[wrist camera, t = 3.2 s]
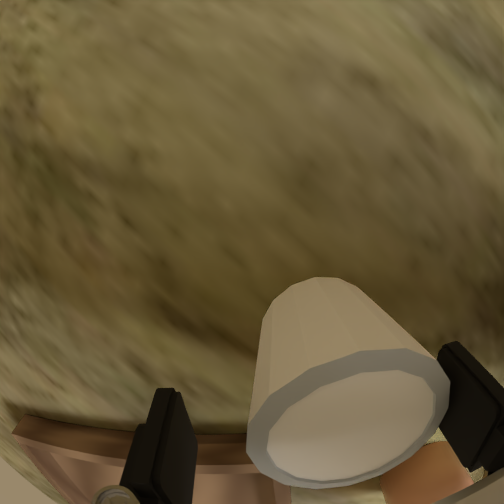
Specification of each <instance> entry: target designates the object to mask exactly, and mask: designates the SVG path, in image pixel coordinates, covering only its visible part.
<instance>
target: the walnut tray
mask: <svg viewBox="0 0 504 504" xmlns="http://www.w3.org/2000/svg"><path fill="white" fill-rule="evenodd" d="M11 434H12V435H13V437H14V438H15V439H16V441H17V442H18V444H19V445H20V446H21V448H22V449H23V450H24V452H25V453H26V454H27V455H28V457H29V458H30V459H31V461H32V462H33V463H34V464H35V466H36V467H37V468H38V469H39V470H40V472H41V473H42V474H43V475H44V476H45V478H46V479H47V480H48V481H49V482H50V483H51V484H52V485H53V487H54V488H55V489H56V490H57V491H58V492H59V493H60V494H61V495H62V496H63V497H64V498H65V499H66V500H67V501H68V502H69V504H91V501H92V498H93V496H94V494H95V493H96V492H97V491H98V490H100V489H101V488H103V487H106V486H109V485H119V483H120V480H121V476H122V473H123V470H124V466H125V463H126V460H127V457H128V453H129V450H130V447H131V444H132V441H133V437H134V434H135V432H129V431H119V430H110V429H102V428H94V427H88V426H81V425H75V424H69V423H64V422H59V421H54V420H49V419H44V418H40V417H35V416H31V415H27V414H25V415H24V417H23V418H22V419H21V421H20V422H19V423H18V425H17V426H16V428H15V429H14V430H13V432H12V433H11ZM195 436H196V439H197V443H198V452H197V461H196V470H195V480H194V489H193V499H192V504H291V492H290V486H289V485H284V484H282V483H280V482H278V481H276V480H274V479H272V478H270V477H268V476H266V475H264V474H262V473H261V472H259V470H258V469H257V467H256V466H255V464H254V463H253V462H252V460H251V459H250V457H249V456H248V454H247V453H246V442H247V433H245V434H221V435H195Z"/></svg>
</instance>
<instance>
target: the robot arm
mask: <svg viewBox="0 0 504 504" xmlns="http://www.w3.org/2000/svg"><path fill="white" fill-rule="evenodd" d="M437 361H438V363H439V364H440V366H441V368H442V369H443V371H444V372H445V374H446V376H447V377H448V379H449V380H450V393H449V407H448V409H447V411H446V413H445V415H444V417H443V419H442V421H441V423H440V424H439V426H438V427H439V428H440V430H441V432H442V433H443V435H444V436H445V438H446V439H447V441H448V443H449V444H450V446H451V448H452V449H453V451H454V452H455V454H456V456H457V457H458V459H459V461H460V462H461V464H462V465H463V467H465V468H466V467H467V468H468V470H469V472H470V473H471V472H473V471H475V470H476V469H478V468H480V467H481V466H483V467H484V469H485V470H484V475H483V479H482V480H480V481H478V482H476V483H474V484H472V485H470V486H468V487H466V488H464V489H462V490H460V491H458V492H456V493H454V494H452V495H450V496H448V497H445V498H443V499H441V500H439V501H436V502H434V503H432V504H504V388H503V387H502V386H501V385H500V384H499V383H498V381H497V380H496V379H495V378H494V377H493V376H492V375H491V374H490V373H489V372H488V371H487V370H486V369H485V368H484V367H483V366H482V365H481V364H480V363H479V362H478V361H477V360H476V359H475V358H474V357H473V356H472V355H471V354H470V353H469V352H468V351H467V350H466V349H465V348H464V347H463V346H462V345H461V344H460V343H459V342H458V341H455V342H451V343H448V344H445V345H443V346H442V349H441V350H440V351H439V353H438V357H437ZM197 452H198V443H197V439H196V436H195V433H194V431H193V428H192V425H191V422H190V419H189V416H188V414H187V411H186V408H185V405H184V402H183V399H182V396H181V393H180V392H176V391H175V389H174V388H157V389H156V392H155V395H154V398H153V401H152V405H151V408H150V411H149V414H148V418H147V421H146V424H139V425H138V426H137V428H136V431H135V434H134V437H133V441H132V444H131V447H130V450H129V453H128V457H127V460H126V463H125V466H124V470H123V473H122V476H121V480H120V483H119V485H109V486H106V487H103V488H101V489H100V490H98V491H97V492H96V493H95V494H94V496H93V498H92V501H91V504H192V499H193V489H194V480H195V470H196V461H197Z"/></svg>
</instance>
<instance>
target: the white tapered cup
mask: <svg viewBox="0 0 504 504" xmlns="http://www.w3.org/2000/svg"><path fill="white" fill-rule="evenodd" d="M449 393H450V380H449V379H448V377H447V376H446V374H445V372H444V371H443V369H442V368H441V366H440V364H439V363H438V361H437V360H436V359H435V358H434V357H433V356H432V355H431V354H430V353H429V352H428V351H427V350H426V349H425V348H424V347H423V346H421V345H420V344H419V343H418V342H417V341H416V340H415V339H414V338H413V337H412V336H411V335H410V334H409V333H408V332H407V331H405V330H404V329H403V328H402V327H401V326H400V325H399V324H398V323H397V322H396V321H395V320H394V319H392V318H391V317H390V316H389V315H388V314H387V313H386V312H385V311H384V310H383V309H381V308H380V307H379V306H378V305H377V304H376V303H375V302H374V301H373V300H372V299H370V298H369V297H368V296H367V295H366V294H365V293H364V292H363V291H361V290H360V289H359V288H358V287H357V286H355V285H352V284H350V283H348V282H346V281H344V280H342V279H340V278H330V277H313V278H310V279H307V280H305V281H302V282H299V283H296V284H293V285H291V286H290V287H288V288H287V289H286V290H285V291H284V292H282V293H281V294H280V295H279V296H278V297H276V298H275V299H274V300H273V301H272V303H271V305H270V307H269V308H268V310H267V312H266V314H265V316H264V318H263V319H262V327H261V334H260V342H259V349H258V356H257V363H256V370H255V378H254V385H253V392H252V398H251V405H250V412H249V419H248V426H247V442H246V453H247V454H248V456H249V457H250V459H251V460H252V462H253V463H254V464H255V466H256V467H257V469H258V470H259V472H261V473H262V474H264V475H266V476H268V477H270V478H272V479H274V480H276V481H278V482H280V483H282V484H284V485H289V486H296V487H302V488H310V489H324V488H334V487H342V486H349V485H353V484H356V483H359V482H362V481H365V480H368V479H371V478H374V477H376V476H379V475H382V474H384V473H385V472H387V471H389V470H390V469H392V468H394V467H395V466H397V465H399V464H400V463H402V462H404V461H405V460H407V459H408V458H410V457H411V456H412V455H414V454H415V453H416V452H417V451H418V450H419V449H420V448H421V447H422V446H423V445H424V444H425V443H426V442H427V441H428V440H429V439H430V438H431V437H432V436H433V435H434V433H435V432H436V430H437V428H438V426H439V424H440V423H441V421H442V419H443V417H444V415H445V413H446V411H447V409H448V407H449Z"/></svg>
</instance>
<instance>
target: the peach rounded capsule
mask: <svg viewBox="0 0 504 504" xmlns="http://www.w3.org/2000/svg"><path fill="white" fill-rule="evenodd" d="M472 484H474V482H473V480H472V479H471V477H470V475H469V473H468V471H467V469H466V468H465V467H463V465H462V464H461V462H460V461H459V459H458V457H457V456H456V454H455V452H454V451H453V449H452V448H451V446H450V444H449V443H448V442H447V441H439V442H434V443H431V444H427V445H425V446H422V447H421V448H420V449H419V450H418V451H417V452H416V453H415V454H414V455H412V456H411V457H410V458H408V459H407V460H405V461H404V462H402V463H400V464H399V465H397V466H395V467H394V468H392V469H390V470H389V471H387V472H385V473H384V474H383V475H382V476H381V478H380V486H381V489H382V492H383V495H384V498H385V501H386V504H432V503H434V502H436V501H439V500H441V499H443V498H445V497H448V496H450V495H452V494H454V493H456V492H458V491H460V490H462V489H464V488H466V487H468V486H470V485H472Z"/></svg>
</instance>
